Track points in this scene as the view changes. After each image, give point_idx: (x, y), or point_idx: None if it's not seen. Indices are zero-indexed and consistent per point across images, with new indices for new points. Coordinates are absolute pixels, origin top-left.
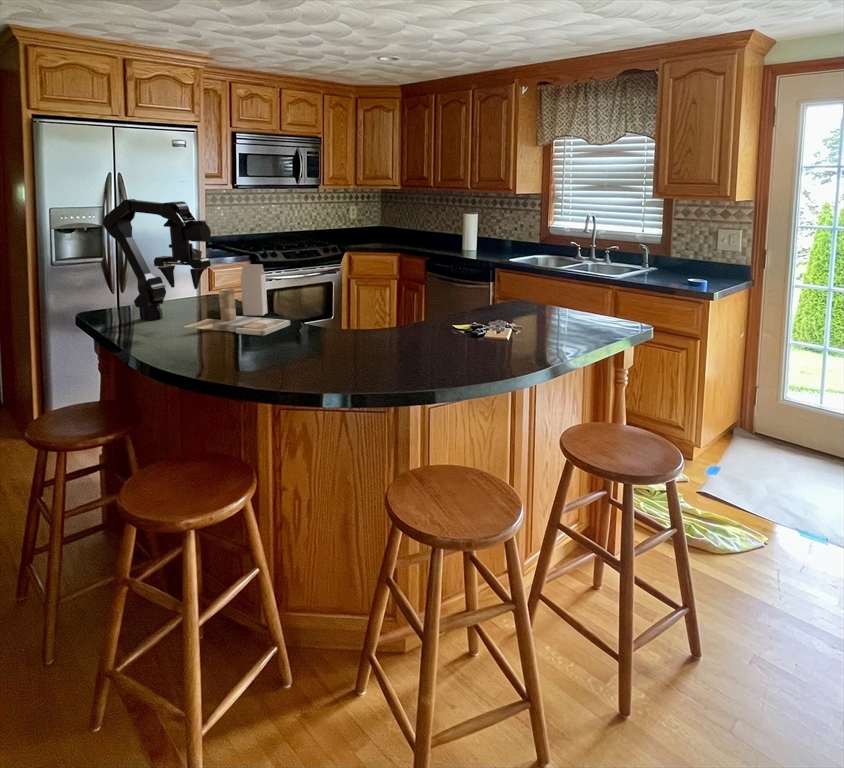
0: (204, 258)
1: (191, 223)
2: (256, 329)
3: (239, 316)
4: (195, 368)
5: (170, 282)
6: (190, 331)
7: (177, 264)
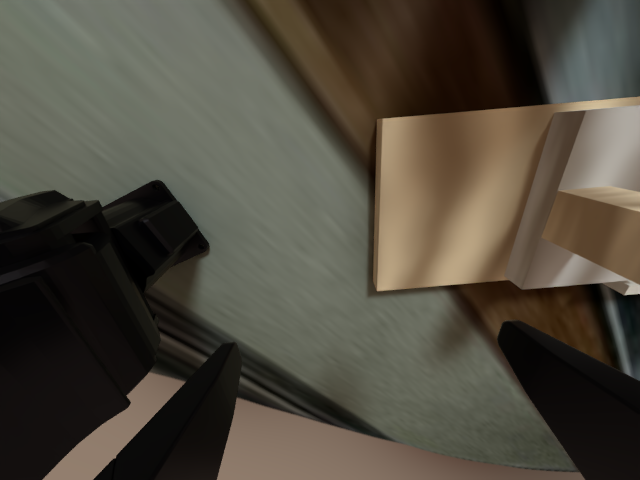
0: None
1: None
2: None
3: (617, 118)
4: (560, 449)
5: (227, 431)
6: None
7: None
